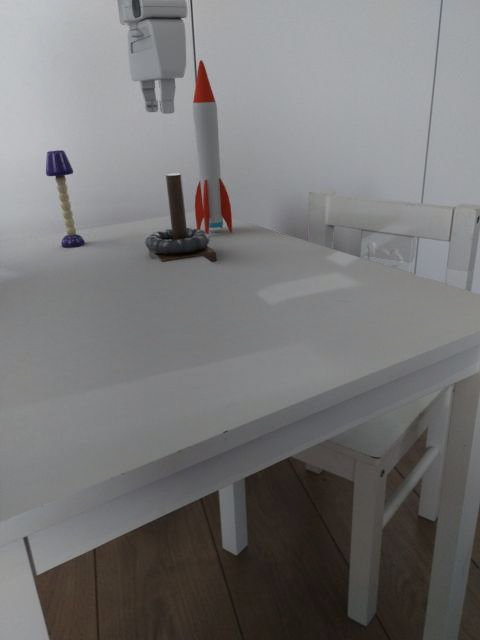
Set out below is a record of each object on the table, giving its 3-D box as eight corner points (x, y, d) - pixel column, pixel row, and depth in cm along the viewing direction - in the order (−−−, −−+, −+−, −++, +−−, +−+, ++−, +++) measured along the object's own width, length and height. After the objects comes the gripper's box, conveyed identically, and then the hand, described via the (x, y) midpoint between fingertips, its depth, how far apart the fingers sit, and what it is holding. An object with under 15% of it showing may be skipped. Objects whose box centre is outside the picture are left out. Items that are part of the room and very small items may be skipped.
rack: (163, 269, 90) (152, 180, 84) (149, 256, 97) (138, 174, 91) (216, 260, 93) (210, 174, 87) (199, 248, 100) (192, 168, 95)
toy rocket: (233, 232, 110) (223, 58, 98) (206, 236, 108) (192, 59, 95) (222, 227, 115) (211, 60, 102) (196, 231, 113) (181, 61, 100)
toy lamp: (54, 245, 107) (36, 151, 100) (75, 240, 110) (58, 149, 103) (71, 248, 104) (53, 152, 97) (91, 242, 108) (75, 149, 101)
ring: (154, 260, 89) (152, 245, 88) (141, 245, 98) (139, 231, 97) (217, 250, 92) (216, 236, 91) (199, 237, 101) (198, 224, 100)
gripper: (114, 18, 91) (125, 112, 96) (144, -1, 74) (155, 115, 79) (153, 18, 93) (162, 110, 99) (190, 0, 76) (199, 113, 82)
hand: (159, 112), depth 89 cm, fingers open, 8 cm apart
